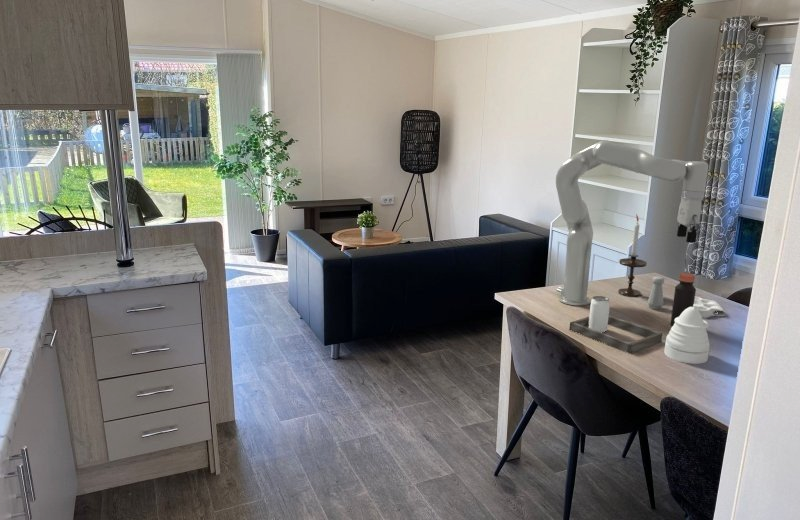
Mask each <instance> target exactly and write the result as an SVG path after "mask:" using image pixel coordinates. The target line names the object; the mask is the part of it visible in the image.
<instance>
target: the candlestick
mask: <svg viewBox="0 0 800 520" xmlns="http://www.w3.org/2000/svg"><path fill="white" fill-rule="evenodd" d="M635 217H636V224H634V228H633V229H634V230H633V236H632V237H633V239H632V245H631V246H632V247H631V254H628V256H629V258H628V257H627V258H620V259H619V261H618V263H619V264H620V265H622V266H623V267H625V266H626V267H629V268H630V269H629V270H630V271H629V275H627V278H628V279H627V280H628V281H627V284H628V285H627V288H620V289H618V294H619V295H621V296H624V297H631V298H637V297H641V293H642V292H641V291H640V290H637V289H634V288H633V284H634V283H635V282H634V280H635V275H634V271H635V268H644V267H646V266H647V261H645V260H643V259H638V258H637V257H639V255H637V249H638V242H639V233H640V224H639V219H640V218H639V216H638V214H637V213H636V215H635Z"/></svg>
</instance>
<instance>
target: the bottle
mask: <svg viewBox="0 0 800 520" xmlns="http://www.w3.org/2000/svg"><path fill="white" fill-rule="evenodd" d="M695 277H696V275H695V274H694V273H690V272H689V273H688V272H681V273H680V274H679V279H678V280H679V283H678V284H676V285H675V287H674V294H673V301H672V310H671V316H670V322H669V323H670V327H672V326H673V325H674V323H675V321H674V319H675V318H677V317H679V316H680V315H681V313H682V312H683V311H684V310H685V309H687V308H689V307H693V304H694V300H695V296H696V291H697V289H696V287H695V286H694V283H695Z"/></svg>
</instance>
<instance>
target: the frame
mask: <svg viewBox="0 0 800 520" xmlns="http://www.w3.org/2000/svg"><path fill="white" fill-rule="evenodd" d="M588 325H589V316H586V317H584V318H583V317H582V318H580V319H576V320H574V321H570V322H569V329H568V331H570V330H572V331H571V332H573V331H574V332H573V333H575V332H577V333H576V334H578V333H580V334H579V335H581V334H582V335H581V336H583V335H584V337H586V336H587V337H586V338H588V337H589V339H591V338H592V339H591V340H594V339H595V340H594V341H596V340H597V342H599V341H600V342H599V343H601V342H603V343H602V344H604V343H605V344H604V345H606V346H609V345H610V347H612V348H614V347H615V349H618V350H620V351H622V350H623V351H622V352H625V351H626V352H625V353H627V352H628V353H627V354H630V353H631V354H634V353H635V352H638V350H639V351H640V350H644V349H646V348H649V347H650V346H653V345H656V344H659V343H660V342H662V338H663V333H662V332H659V331H656V330H654V329H650V328H648V327H644V326H641V325H638V324H635V323H632V322H629V321H627V320H623V319H620V318H617V317H615V316H612V315H609V317H608V325H610V326H612V327H615V328H618V329H621V330H624V331H627V332H629V333H633V334H635V335H637V336H641V337H643V338H641V339H638V340H636V341H633V342H628V341H626V340H624V339H623V340H622V339H621V338H618V337H615V336H611V335H609V334H606V333H605V332H603V333H601V332H599V331H596V330H593V329H590V328H589V326H588ZM585 326H586V327H585Z"/></svg>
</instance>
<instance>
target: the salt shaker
mask: <svg viewBox="0 0 800 520" xmlns="http://www.w3.org/2000/svg"><path fill="white" fill-rule="evenodd" d="M651 281H652V284H653V285H652V288H651V290H650V294H649V297H648V300H647V304H648V307H649V309H652V310H655V311H659V310H661V309H662V308H663V305H664V291H663V284H664V283H665V278H664V277H662V276H654V277H652V280H651Z"/></svg>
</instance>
